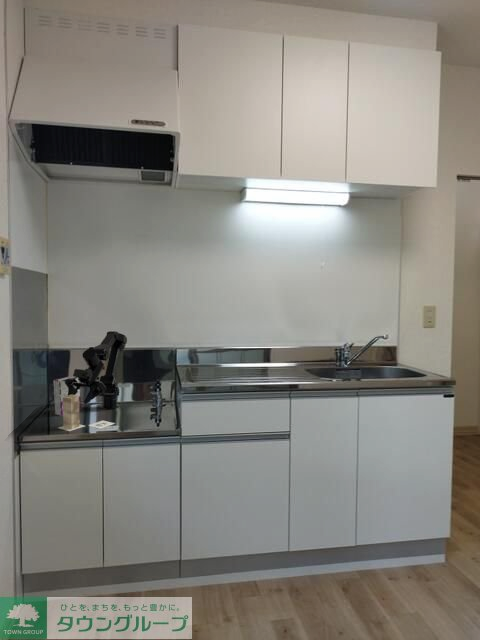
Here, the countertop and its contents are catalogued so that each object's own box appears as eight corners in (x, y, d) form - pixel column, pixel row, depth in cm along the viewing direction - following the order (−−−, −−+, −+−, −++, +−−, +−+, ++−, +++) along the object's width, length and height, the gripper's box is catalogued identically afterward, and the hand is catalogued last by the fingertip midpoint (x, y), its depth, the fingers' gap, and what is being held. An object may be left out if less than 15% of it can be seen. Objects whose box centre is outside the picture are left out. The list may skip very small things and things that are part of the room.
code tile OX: (87, 425, 192) (87, 425, 192) (102, 420, 199) (102, 420, 199) (100, 429, 188) (100, 428, 188) (115, 423, 195) (115, 423, 195)
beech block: (71, 424, 193) (70, 394, 192) (79, 425, 192) (78, 395, 190) (63, 427, 189) (62, 397, 188) (71, 429, 187) (70, 398, 186)
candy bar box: (74, 408, 218) (73, 375, 217) (81, 410, 215) (80, 376, 214) (54, 414, 209) (52, 379, 207) (61, 416, 206) (59, 380, 205)
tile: (57, 428, 189) (57, 427, 189) (73, 423, 196) (73, 422, 196) (69, 431, 185) (69, 431, 185) (85, 426, 192) (85, 425, 192)
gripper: (66, 360, 199) (48, 390, 190) (101, 362, 192) (83, 394, 183) (80, 374, 207) (62, 404, 198) (113, 377, 200) (97, 408, 191)
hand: (76, 402), depth 192 cm, fingers open, 9 cm apart
